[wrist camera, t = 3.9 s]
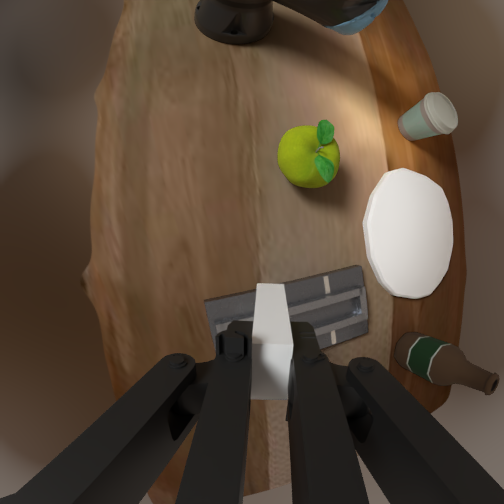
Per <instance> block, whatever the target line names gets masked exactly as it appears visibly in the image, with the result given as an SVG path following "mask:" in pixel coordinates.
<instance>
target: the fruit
mask: <svg viewBox="0 0 504 504" xmlns="http://www.w3.org/2000/svg"><path fill="white" fill-rule="evenodd" d="M333 136H334V126H333V125H332V124H331V123H330V122H329V121H327V120H321V121H320V122H319V124H318V127H315V126H298V127H295V128H292V129H290V130H289V131H287V132H286V133H285V134H284V136H283V137H282V139H281V141H280V144H279V148H278V165H279V168H280V169H281V171H282V173H283V174H284V175H285V177H286V178H287V179H288V180H289V181H290V182H291V183H292V184H294V185H297V186H300V187H305V188H318V187H322V186H324V185H326V184H328V183H329V182H330V181H331V180H332V179H333V178H334V177H335V175H336V174H337V171H338V168H339V162H340V152H339V147H338V144H337V142H336V141H335V139H334V138H333Z"/></svg>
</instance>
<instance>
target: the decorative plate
mask: <svg viewBox="0 0 504 504" xmlns="http://www.w3.org/2000/svg"><path fill="white" fill-rule="evenodd" d="M363 229H364V237H365V244H366V253H367V258H368V260H369V263H370V265H371V267H372V269H373V272H374V274H375V276H376V279H377V281H378V282H379V283H380V284H381V286H382V287H383V288H384V289H385V290H386V291H387V292H388V293H389V294H390V295H393V296H399V297H406V298H412V299H418V298H422V297H425V296H428V295H430V294H431V293H432V292H433V291H434V289H435V288H436V287H437V286H438V284H439V283H440V282H441V280H442V279H443V277H444V275H445V273H446V272H447V270H448V266H449V262H450V257H451V252H452V247H453V224H452V217H451V212H450V208H449V204H448V201H447V199H446V196H445V194H444V192H443V189H442V188H441V187H440V186H439V185H437V184H436V183H435V182H433V181H432V180H431V179H429V178H428V177H427V176H424V175H422V174H419V173H416V172H413V171H411V170H408V169H405V168H400V169H397V170H393V171H390V172H386V173H384V175H383V176H382V178H381V180H380V181H379V183H378V184H377V186H376V187H375V189H374V190H373V192H372V193H371V195H370V197H369V201H368V205H367V209H366V212H365V216H364V220H363Z"/></svg>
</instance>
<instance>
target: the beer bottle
mask: <svg viewBox="0 0 504 504" xmlns="http://www.w3.org/2000/svg"><path fill="white" fill-rule="evenodd" d="M394 357H395V359H396V360H397V362H398V364H399V365H400V366H402V367H403V368H405V369H407V370H409V371H411V372H412V373H414V374H416V375H418V376H420V377H422V378H424V379H426V380H428V381H430V382H432V383H434V384H437V385H439V386H448V385H451V384H455V383H457V384H462V385H465V386H468V387H471V388H473V389H476V390H479V391H482V392H484V393H485V395H491V394H492V393H494V391H495V389H496V388H497V386H498V383H499V375H498V374H496V373H494V374H492V373H490V372H488V371H486V370H484V369H482V368H480V367H478V366H476V365H474V364H472V363H470V362H469V361H467V360H466V358H465V355H464V354H463V352H462V351H461V350H460V349H459V348H458V347H457V346H454V345H452V344H450V343H447V342H444V341H441V340H438V339H435V338H433V337H430V336H427V335H424V334H421V333H417V332H411V333H405V334H404V335H403V336H402V337H401V339H400V340H399V341H398V342H397V343H396V348H395V353H394Z"/></svg>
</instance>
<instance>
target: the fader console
mask: <svg viewBox="0 0 504 504" xmlns="http://www.w3.org/2000/svg"><path fill="white" fill-rule="evenodd" d="M280 284H284V289H285V295H286V301H287V307H288V313H289V319H290V321H292V322H308V323H310V324H311V325H312V326H313V327H314V331H315V334H316V338H317V341H318V344H319V347H320V349H322V348H325V347H328V346H331V345H334V344H337V343H340V342H343V341H346V340H349V339H351V338H354V337H357V336H360V335H362V334H365V333H368V323H367V319H368V310H367V300H366V290H365V286H364V283H363V274H362V266H359V265H353V266H350V267H346V268H342V269H338V270H334V271H330V272H326V273H322V274H318V275H313V276H309V277H305V278H301V279H297V280H292V281H288V282H284V283H280ZM256 290H257V289H253V290H249V291H244V292H239V293H235V294H230V295H225V296H221V297H216V298H211V299H206V300H204V303H205V308H206V312H207V317H208V321H209V326H210V330H211V334H212V339H213V343H214V347H215V351H216V340H215V336H216V335H217V334H218V333H219V332H221V331H224V330H227V327H228V324H230V323H231V322H232V321H233V320H238V321H254V312H255V301H256Z"/></svg>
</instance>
